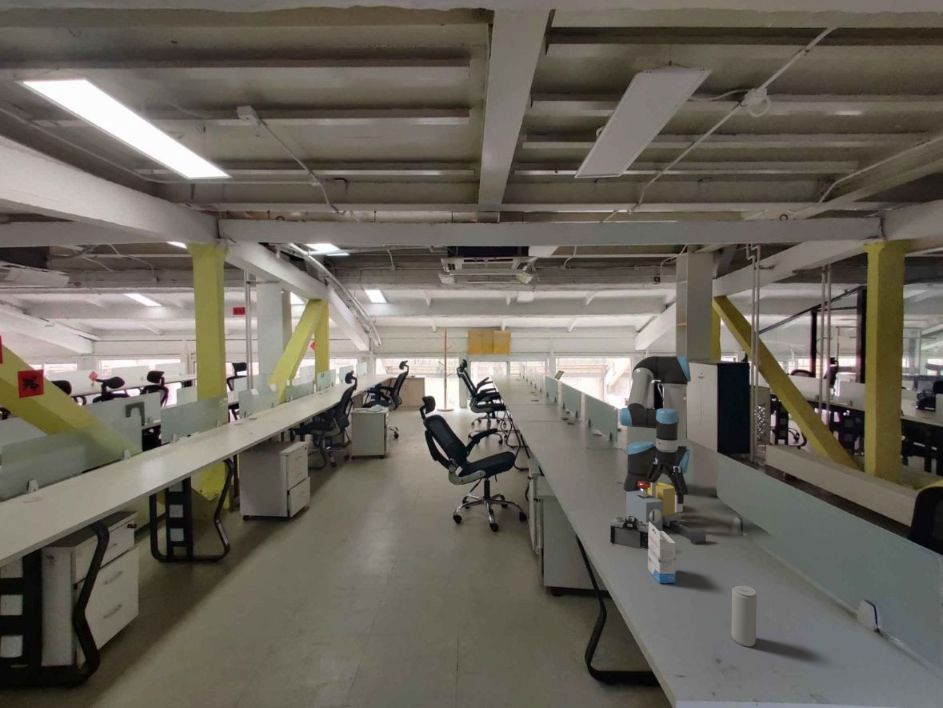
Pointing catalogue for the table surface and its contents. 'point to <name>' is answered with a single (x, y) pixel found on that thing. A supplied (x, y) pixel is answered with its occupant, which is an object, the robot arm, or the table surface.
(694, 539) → the rail
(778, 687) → the table surface
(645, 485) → the plunger
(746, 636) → the beverage can
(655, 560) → the ink box
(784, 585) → the table surface
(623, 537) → the camera
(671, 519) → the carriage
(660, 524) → the gauge cabinet
